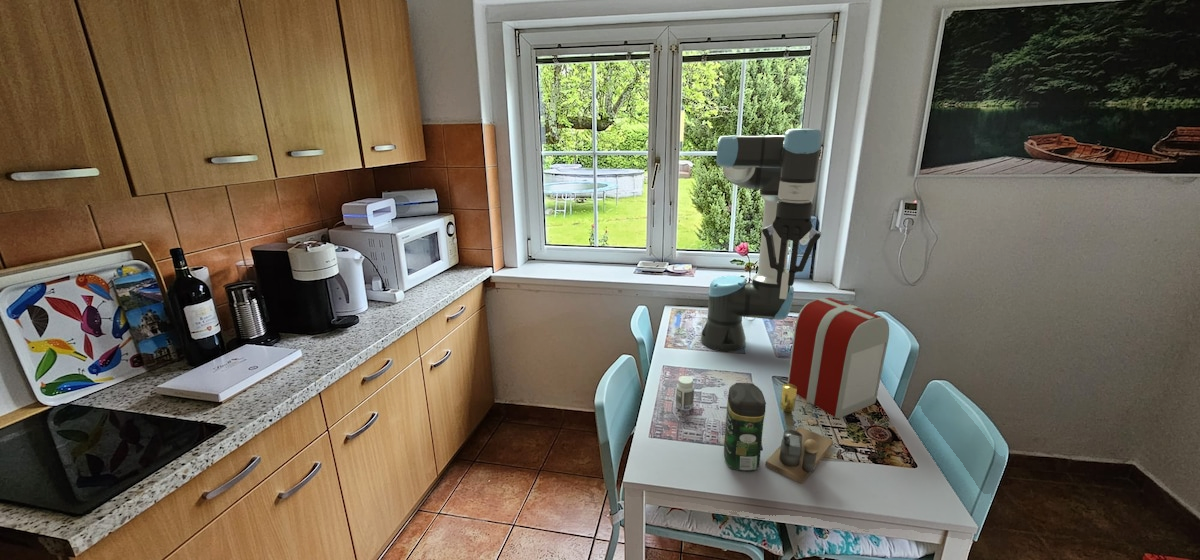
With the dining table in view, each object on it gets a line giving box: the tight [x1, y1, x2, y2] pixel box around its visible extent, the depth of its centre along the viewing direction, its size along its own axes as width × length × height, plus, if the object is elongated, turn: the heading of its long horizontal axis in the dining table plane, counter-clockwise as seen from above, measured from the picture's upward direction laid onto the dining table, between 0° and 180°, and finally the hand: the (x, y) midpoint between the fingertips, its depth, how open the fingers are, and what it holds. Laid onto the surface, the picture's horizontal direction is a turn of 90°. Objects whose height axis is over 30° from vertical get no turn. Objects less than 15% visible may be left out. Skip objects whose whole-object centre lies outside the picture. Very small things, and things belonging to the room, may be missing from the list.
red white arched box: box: [786, 297, 890, 419], centre depth 135 cm, size 17×18×27 cm
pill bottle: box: [675, 375, 695, 411], centre depth 133 cm, size 5×5×8 cm
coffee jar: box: [723, 382, 767, 472], centre depth 111 cm, size 10×8×19 cm
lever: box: [779, 383, 802, 456], centre depth 113 cm, size 4×17×8 cm, turn 166°
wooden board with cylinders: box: [764, 425, 834, 485], centre depth 114 cm, size 10×18×9 cm, turn 136°
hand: (783, 296), depth 118 cm, fingers closed
